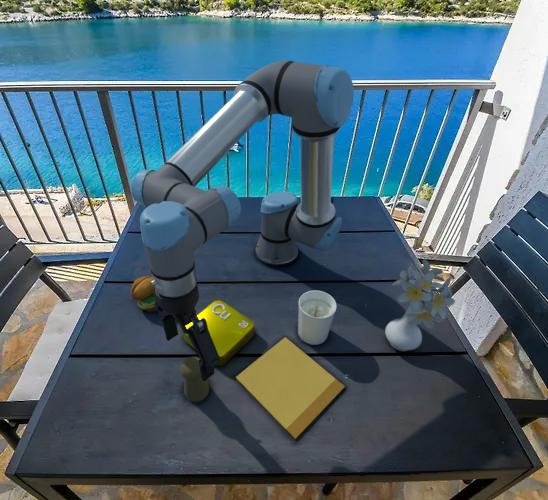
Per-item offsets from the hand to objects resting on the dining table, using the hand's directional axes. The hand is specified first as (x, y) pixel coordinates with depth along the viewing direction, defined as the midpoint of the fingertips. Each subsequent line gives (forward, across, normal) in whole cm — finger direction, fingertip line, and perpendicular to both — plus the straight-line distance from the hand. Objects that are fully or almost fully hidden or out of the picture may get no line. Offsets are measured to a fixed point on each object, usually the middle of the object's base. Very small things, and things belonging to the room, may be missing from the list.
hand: (189, 355), depth 76 cm
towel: (+14, +14, +18) cm, 27 cm away
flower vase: (+14, +27, +49) cm, 58 cm away
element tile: (+14, -9, +14) cm, 22 cm away
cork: (+14, 0, 0) cm, 14 cm away
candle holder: (+14, +8, +34) cm, 38 cm away
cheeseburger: (+14, -33, +7) cm, 37 cm away
